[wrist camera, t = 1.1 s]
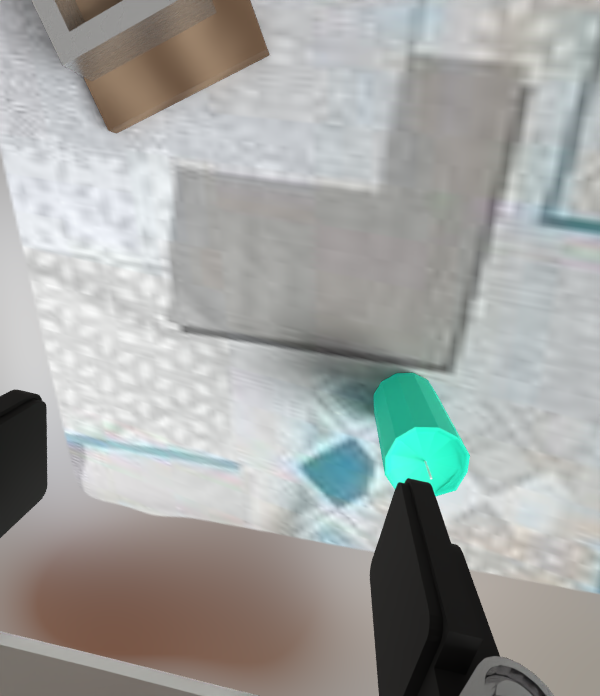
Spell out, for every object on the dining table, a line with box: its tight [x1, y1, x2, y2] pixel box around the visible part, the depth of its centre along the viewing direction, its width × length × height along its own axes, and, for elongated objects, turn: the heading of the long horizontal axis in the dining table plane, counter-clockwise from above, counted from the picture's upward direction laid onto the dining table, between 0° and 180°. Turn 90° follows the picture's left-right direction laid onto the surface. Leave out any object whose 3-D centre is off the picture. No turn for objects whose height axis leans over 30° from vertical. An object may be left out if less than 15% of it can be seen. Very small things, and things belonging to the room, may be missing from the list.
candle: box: [374, 373, 470, 496], centre depth 33 cm, size 6×6×12 cm
